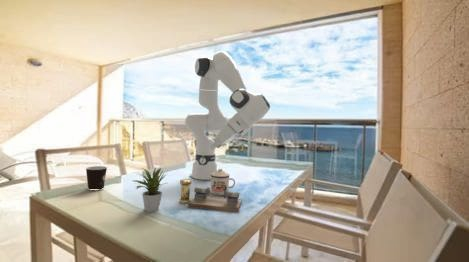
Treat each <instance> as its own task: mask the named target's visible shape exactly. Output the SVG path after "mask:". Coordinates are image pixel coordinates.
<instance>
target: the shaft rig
mask: <svg viewBox="0 0 469 262" xmlns="http://www.w3.org/2000/svg"><path fill="white" fill-rule="evenodd" d="M193 192H194V197H193V198H192V199H191V201H190V202H189V203H187V205H188V206H187V208H195V209H205V210H211V211H212V210H214V211H215V210H216V211H224V212H234V213H238V212H239V210H240V208H241V206H242V202H243V199H242V198H240V192H236V191H228V192H227V190H225V191H224V195H223V197H222V196H213V195H210V193H211V187H209V186H208V187H206V188H204V187H194V191H193Z"/></svg>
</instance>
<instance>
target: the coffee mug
mask: <svg viewBox="0 0 469 262" xmlns="http://www.w3.org/2000/svg"><path fill="white" fill-rule="evenodd" d="M107 169H108V167H107V166H105V165H104V166H102V165H100V166H99V165H94V166H87V167H86V168H85V171H86V180H87V189H88V188H89V189H102V188H105V184H106V183H105V182H106V175H107ZM102 190H103V189H102Z"/></svg>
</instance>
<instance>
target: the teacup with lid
mask: <svg viewBox="0 0 469 262" xmlns="http://www.w3.org/2000/svg"><path fill="white" fill-rule="evenodd" d="M217 170H218V171H216V172H214V173H212V174H211V180H210V193H211V194H213V195H216V196H224V191H225V190H227V192H229V189H233V188H234V187H235V185H236V180H235V179H234V178H232V177H230V173H228V172H226V171H224V170H223V168H217ZM230 180H231V181H233V185H231V186H230V185H229V182H230Z"/></svg>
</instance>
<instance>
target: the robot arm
mask: <svg viewBox="0 0 469 262" xmlns="http://www.w3.org/2000/svg"><path fill="white" fill-rule="evenodd" d="M238 68H239V67H238V66H237V65H236V62H235V61H234V59H233V58H232V57H231V55H229V54H228V52H225V51H222V50H220V51H217V52H216V53H214V55H213V56H212V57H207V56H203V57H198V58H196V61H195V64H194V70H195V74H196V75H197V76H198V77H200V81H199V87H198V103H199V105H200V106H201V107H203V108H205V109H207V110H208V113H205V112H204V113H203V112H202V113H201V112H193V113H189V114H187V116H186V117H185V121H184V123H185V127H186V128H187V130H188V131H189V132H191V133H192V134H193V136H194V138H195V144H196V152H195V161H194V162H193V163H192V168H191V171H192V172H191V173H190V174H189V177H191V178H193V179H196V180H203V181H205V180H209V181H211V174H212V173H214V172H216V171H218V163H217V161H216V154H215V153H216V151H215V150H216V149H221V147H222V146H223V145H225V144H228V143H231V142H232V141H233V140H234V139H235V138H236V137H239V136H242V137H243V136H245V134H246V133H248V132H249V131H250V130H251V129H252V128H253V126H254V125H255V124H256V123H258V122H259V121H261V120H262V119H263V118H264V117H265V116H266V114H267V113H269V111H270V108H271V105H270V102H269V101H268V99H266V97H265V95H263V94H262V93H253V92H251V91H249V90H248V89H247V87H246V85H245V83H244V81H243V79H242V76H241V73H240V71H239V69H238ZM219 81H220V82H221V83H222V84H223V85H224V86H225V87H226V88H228V90H229V91H231V92H232V93H231V95H230V97H229V104H230V106H231V107H232V109H234V110H235V111H236V113H235V114H234V115H233V116H232V117H230V119H228V118H227V116H226V115H225V114H224V113H223V112H222V111H221V109H220V107H219V103H218V101H219V99H218V91H219V84H218V83H219ZM206 132H209V133H210V132H212V133H217V135H216V136H215V140H214V139H212V138H211V137H209V136H208V135H206Z"/></svg>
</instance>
